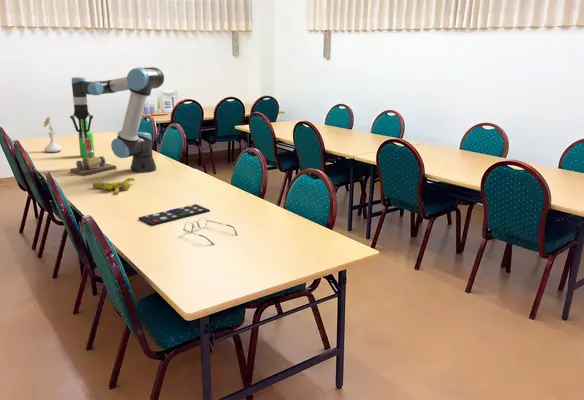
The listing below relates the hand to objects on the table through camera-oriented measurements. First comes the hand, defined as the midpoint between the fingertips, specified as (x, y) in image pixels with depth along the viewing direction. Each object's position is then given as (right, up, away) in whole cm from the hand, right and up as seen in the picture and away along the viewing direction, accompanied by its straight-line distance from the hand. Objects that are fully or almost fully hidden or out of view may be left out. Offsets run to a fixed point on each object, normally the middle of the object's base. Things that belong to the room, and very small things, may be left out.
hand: (84, 143), depth 305 cm
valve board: (+7, -17, -2) cm, 18 cm away
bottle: (-12, -5, +35) cm, 38 cm away
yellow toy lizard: (+31, -29, -37) cm, 56 cm away
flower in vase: (-41, -1, +46) cm, 61 cm away
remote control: (+73, -42, -76) cm, 114 cm away
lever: (+4, -5, -2) cm, 7 cm away
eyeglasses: (+93, -49, -98) cm, 144 cm away
